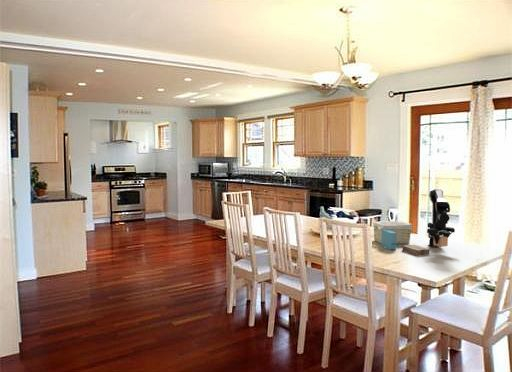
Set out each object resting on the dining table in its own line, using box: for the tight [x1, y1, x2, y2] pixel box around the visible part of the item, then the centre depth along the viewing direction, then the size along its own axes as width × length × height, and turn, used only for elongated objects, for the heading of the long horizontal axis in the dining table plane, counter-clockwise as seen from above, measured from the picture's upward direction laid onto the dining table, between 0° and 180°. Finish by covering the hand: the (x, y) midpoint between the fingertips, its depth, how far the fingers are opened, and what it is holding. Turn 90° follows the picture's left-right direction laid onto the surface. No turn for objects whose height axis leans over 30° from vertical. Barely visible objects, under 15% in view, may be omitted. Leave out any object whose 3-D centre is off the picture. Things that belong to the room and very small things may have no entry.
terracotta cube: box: [433, 235, 449, 248], centre depth 264 cm, size 6×6×6 cm
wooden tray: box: [401, 244, 430, 257], centre depth 267 cm, size 10×14×4 cm
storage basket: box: [373, 220, 413, 245], centre depth 298 cm, size 24×16×15 cm
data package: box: [380, 230, 397, 251], centre depth 279 cm, size 12×4×12 cm, turn 14°
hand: (440, 243), depth 264 cm, fingers closed on terracotta cube, 6 cm apart
